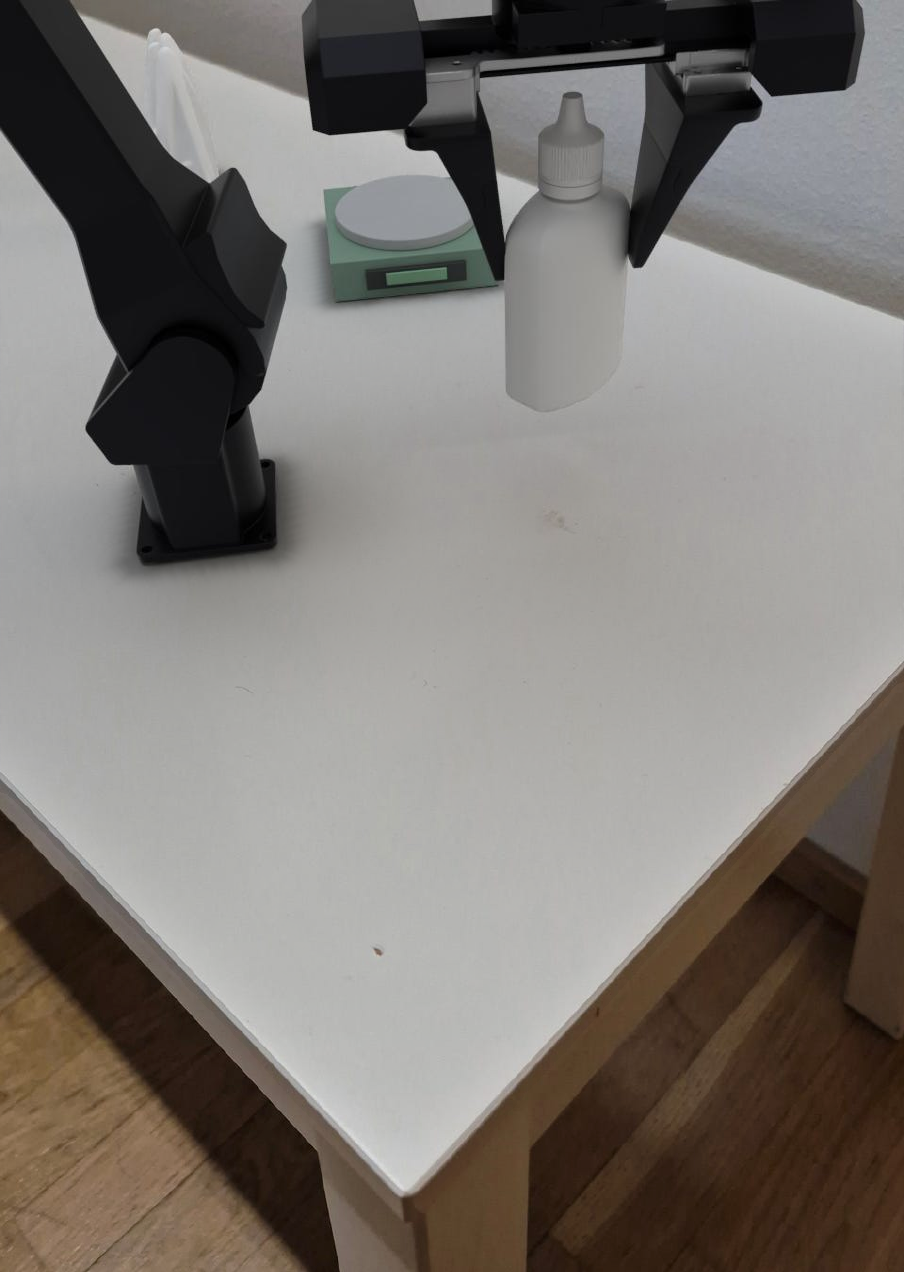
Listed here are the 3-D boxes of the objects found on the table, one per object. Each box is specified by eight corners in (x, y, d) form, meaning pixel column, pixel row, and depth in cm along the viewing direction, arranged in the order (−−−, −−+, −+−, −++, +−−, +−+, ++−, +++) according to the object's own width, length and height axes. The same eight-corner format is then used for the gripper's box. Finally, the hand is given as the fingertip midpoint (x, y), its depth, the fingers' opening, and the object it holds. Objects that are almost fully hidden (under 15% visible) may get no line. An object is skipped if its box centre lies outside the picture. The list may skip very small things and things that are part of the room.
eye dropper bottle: (486, 367, 51) (479, 85, 43) (606, 343, 52) (622, 62, 44) (518, 422, 48) (517, 131, 40) (644, 396, 49) (670, 105, 41)
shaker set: (232, 240, 76) (198, 63, 68) (167, 250, 76) (126, 72, 68) (217, 165, 84) (186, -2, 76) (159, 173, 84) (121, 6, 76)
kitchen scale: (500, 289, 70) (499, 239, 68) (335, 306, 70) (329, 256, 67) (477, 211, 78) (475, 163, 75) (327, 225, 77) (321, 178, 75)
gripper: (799, -270, 41) (740, 163, 53) (274, -231, 41) (328, 200, 52) (920, -206, 34) (821, 286, 45) (275, -157, 33) (337, 332, 44)
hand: (567, 269), depth 47 cm, fingers closed on eye dropper bottle, 5 cm apart
